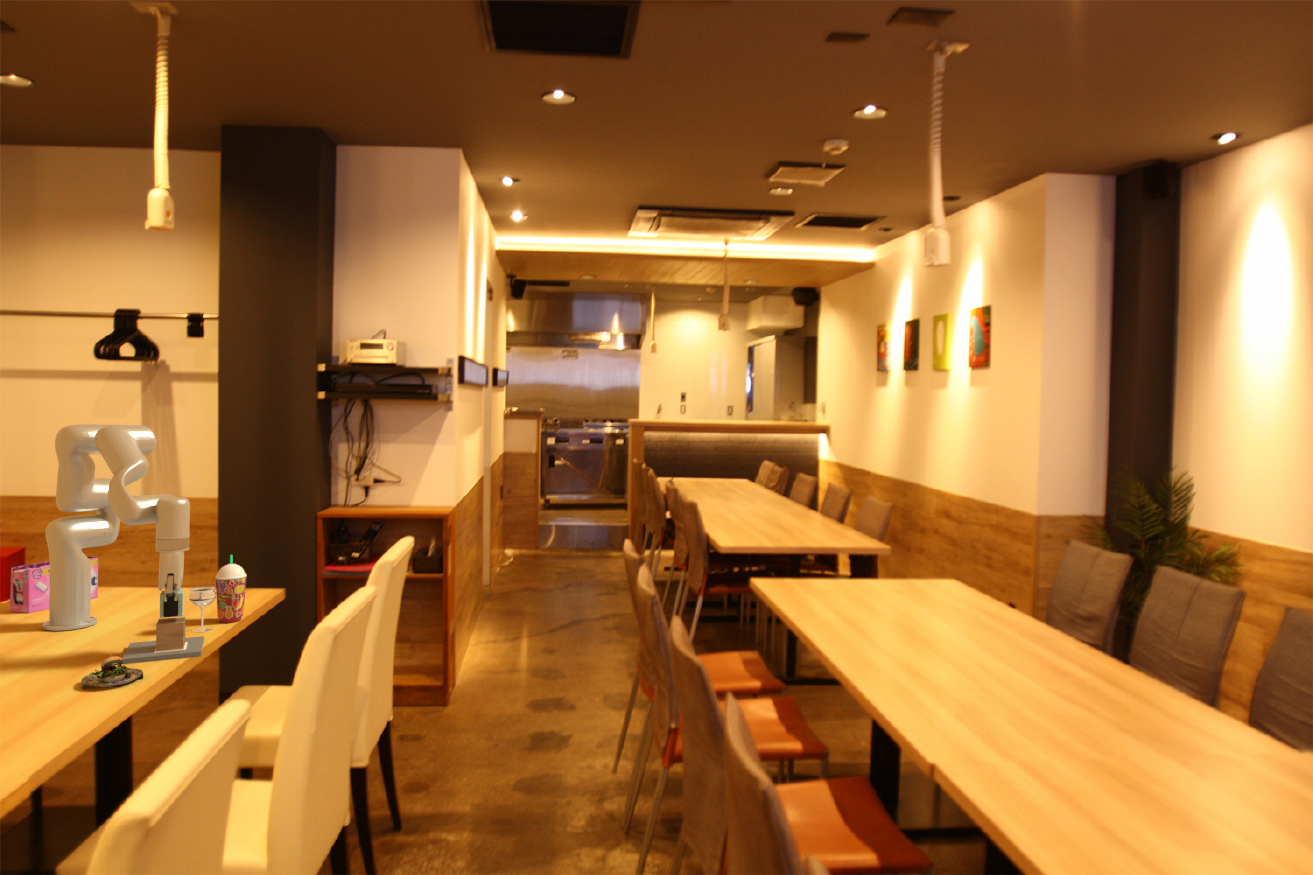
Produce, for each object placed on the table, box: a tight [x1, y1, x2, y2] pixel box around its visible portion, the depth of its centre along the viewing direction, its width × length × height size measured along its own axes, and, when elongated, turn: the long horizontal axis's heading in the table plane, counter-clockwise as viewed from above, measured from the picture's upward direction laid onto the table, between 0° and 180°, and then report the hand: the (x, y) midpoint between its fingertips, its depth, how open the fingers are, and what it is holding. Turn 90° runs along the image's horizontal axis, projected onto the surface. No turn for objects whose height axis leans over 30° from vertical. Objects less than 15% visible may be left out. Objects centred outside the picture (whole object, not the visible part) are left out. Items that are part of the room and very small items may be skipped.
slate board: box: [121, 636, 205, 665], centre depth 204 cm, size 15×17×1 cm
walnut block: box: [155, 616, 186, 652], centre depth 203 cm, size 6×6×7 cm
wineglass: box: [188, 585, 217, 633], centre depth 224 cm, size 7×7×12 cm
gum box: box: [9, 555, 99, 614], centre depth 247 cm, size 24×8×14 cm, turn 166°
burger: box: [80, 655, 144, 691], centre depth 181 cm, size 12×12×8 cm
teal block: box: [159, 588, 185, 619], centre depth 203 cm, size 5×5×6 cm
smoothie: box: [215, 554, 248, 624], centre depth 234 cm, size 8×8×20 cm
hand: (171, 612), depth 203 cm, fingers closed on teal block, 5 cm apart
